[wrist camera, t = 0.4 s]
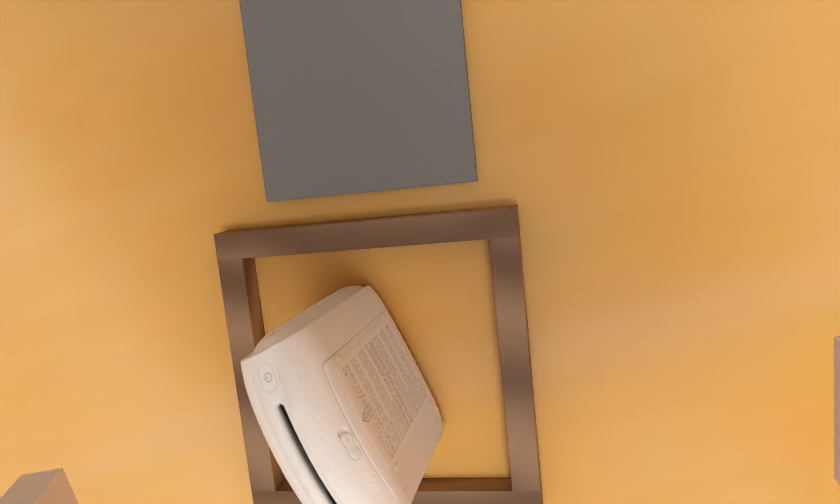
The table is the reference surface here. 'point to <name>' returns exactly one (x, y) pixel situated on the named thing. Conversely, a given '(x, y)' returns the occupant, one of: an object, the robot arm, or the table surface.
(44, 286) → the table surface
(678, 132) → the table surface
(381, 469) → the photo printer
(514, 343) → the walnut frame
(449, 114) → the rubber mat
